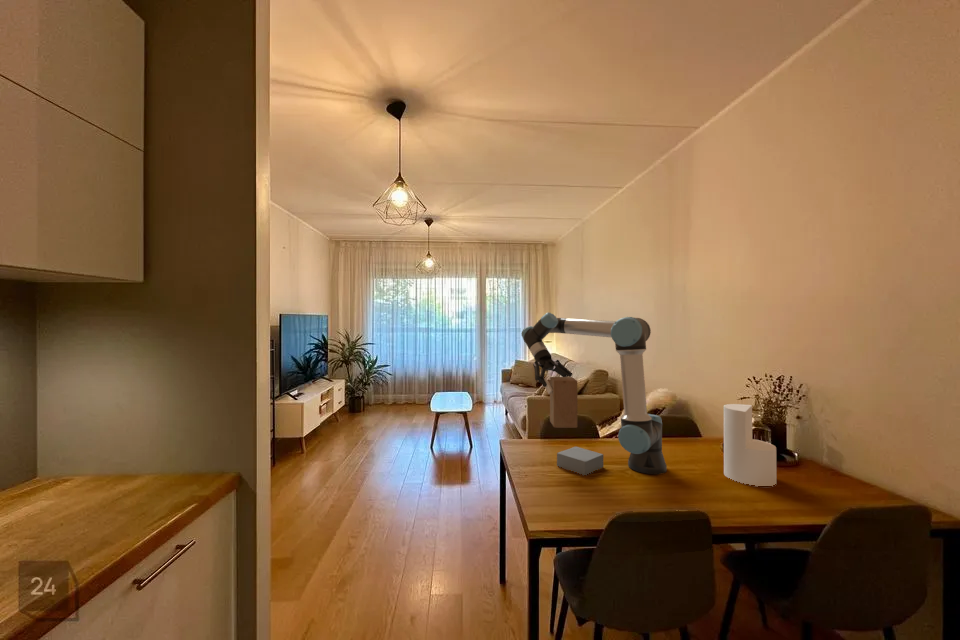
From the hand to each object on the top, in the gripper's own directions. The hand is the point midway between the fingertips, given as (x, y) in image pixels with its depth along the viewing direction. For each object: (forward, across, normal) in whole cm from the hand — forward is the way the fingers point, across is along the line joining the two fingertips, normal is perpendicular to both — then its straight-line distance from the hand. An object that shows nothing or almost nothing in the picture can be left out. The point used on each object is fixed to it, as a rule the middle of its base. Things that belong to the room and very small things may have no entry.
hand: (562, 390), depth 164 cm
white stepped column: (+55, -58, +8) cm, 81 cm away
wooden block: (+11, 0, -10) cm, 15 cm away
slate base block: (+26, -6, -21) cm, 34 cm away
